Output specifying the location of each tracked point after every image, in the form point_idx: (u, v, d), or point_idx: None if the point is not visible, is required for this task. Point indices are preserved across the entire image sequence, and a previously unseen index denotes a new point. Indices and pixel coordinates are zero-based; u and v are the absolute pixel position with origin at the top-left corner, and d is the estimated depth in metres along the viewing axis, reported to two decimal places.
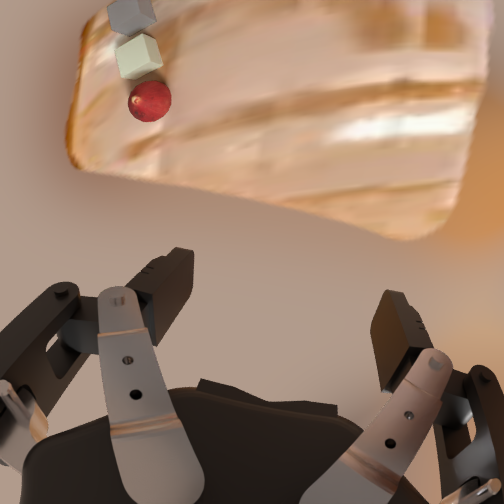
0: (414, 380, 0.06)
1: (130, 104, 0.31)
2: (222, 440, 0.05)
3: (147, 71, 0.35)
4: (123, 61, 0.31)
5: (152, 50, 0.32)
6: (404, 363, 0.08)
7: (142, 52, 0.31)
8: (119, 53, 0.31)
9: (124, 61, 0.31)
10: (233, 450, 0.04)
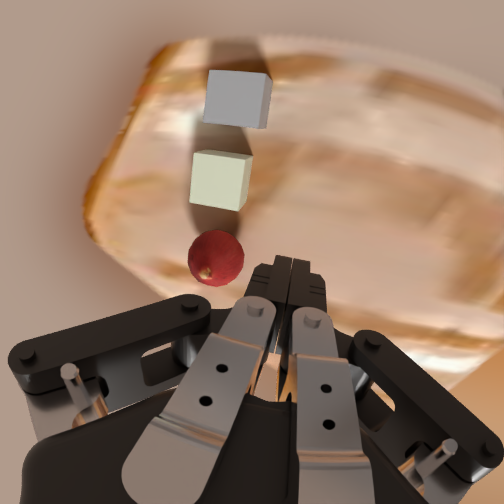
0: (303, 348, 0.07)
1: (194, 269, 0.28)
2: None
3: None
4: (200, 181, 0.28)
5: (244, 185, 0.29)
6: (288, 322, 0.09)
7: (232, 190, 0.27)
8: (199, 164, 0.27)
9: (202, 183, 0.28)
10: (233, 450, 0.04)
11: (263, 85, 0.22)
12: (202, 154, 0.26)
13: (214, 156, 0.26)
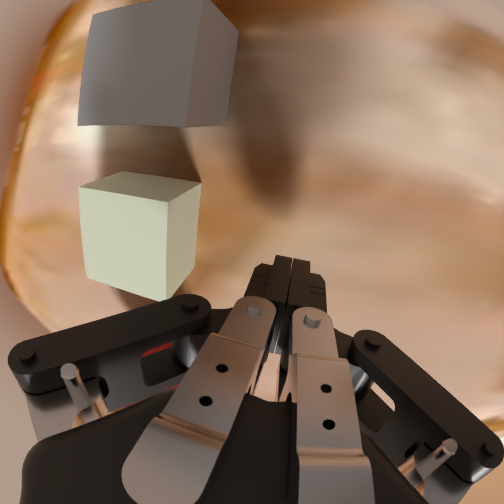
0: (303, 348, 0.07)
1: None
2: None
3: None
4: (95, 242, 0.13)
5: (181, 247, 0.14)
6: (288, 322, 0.09)
7: (150, 263, 0.13)
8: (89, 209, 0.12)
9: (98, 245, 0.13)
10: (233, 450, 0.04)
11: (198, 21, 0.07)
12: (92, 190, 0.12)
13: (110, 194, 0.12)
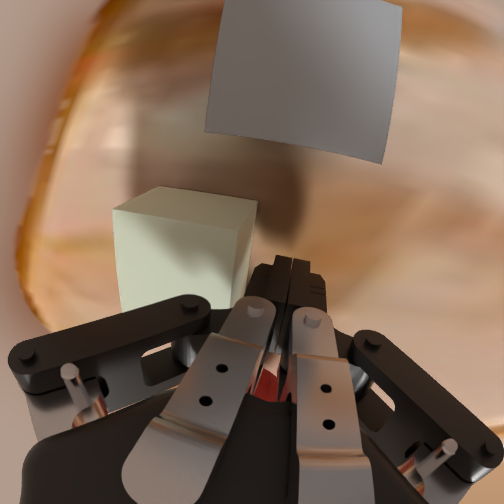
0: (303, 348, 0.07)
1: None
2: None
3: None
4: (136, 275, 0.11)
5: (240, 278, 0.12)
6: (288, 322, 0.09)
7: (209, 300, 0.11)
8: (127, 236, 0.11)
9: (139, 279, 0.11)
10: (233, 450, 0.04)
11: (398, 36, 0.06)
12: (131, 213, 0.10)
13: (158, 219, 0.10)
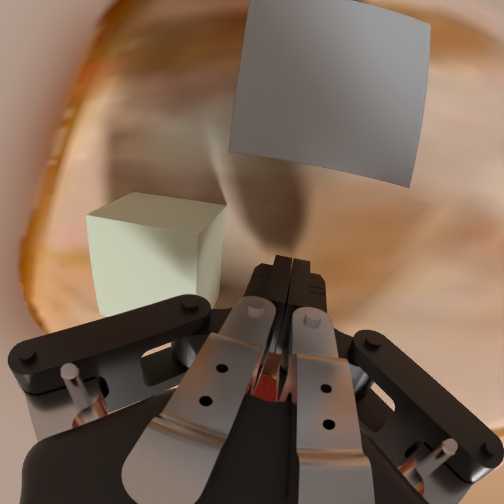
0: (303, 348, 0.07)
1: None
2: None
3: None
4: (109, 278, 0.12)
5: (208, 280, 0.13)
6: (288, 322, 0.09)
7: None
8: (99, 241, 0.11)
9: (113, 281, 0.12)
10: (233, 450, 0.04)
11: (426, 55, 0.05)
12: (102, 218, 0.10)
13: (126, 224, 0.10)
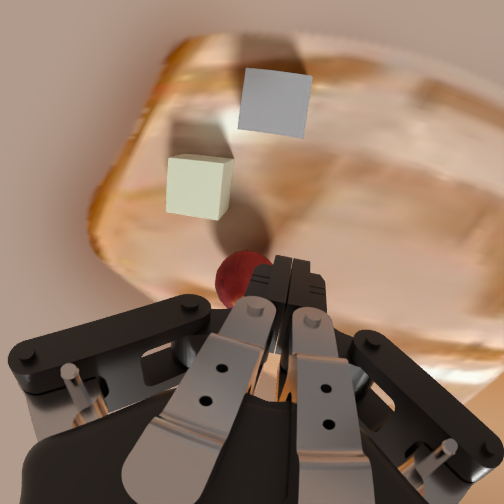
0: (303, 348, 0.07)
1: (225, 296, 0.25)
2: None
3: None
4: (176, 188, 0.25)
5: (225, 191, 0.26)
6: (288, 322, 0.09)
7: (211, 197, 0.25)
8: (174, 170, 0.24)
9: (178, 190, 0.25)
10: (234, 450, 0.04)
11: (309, 89, 0.19)
12: (177, 159, 0.24)
13: (190, 160, 0.24)
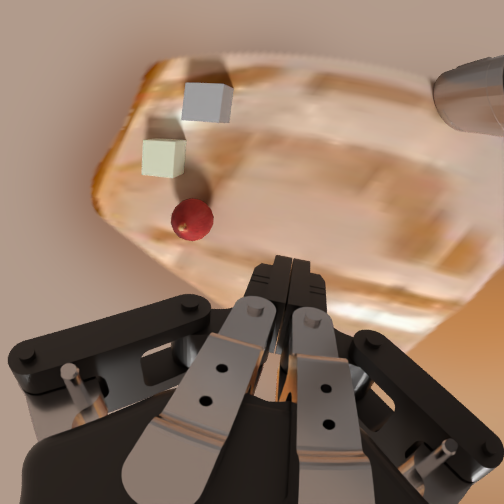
0: (303, 348, 0.07)
1: (175, 225, 0.38)
2: None
3: None
4: (148, 159, 0.38)
5: (178, 160, 0.39)
6: (288, 322, 0.09)
7: (168, 163, 0.37)
8: (146, 147, 0.37)
9: (149, 160, 0.38)
10: (234, 450, 0.04)
11: (222, 92, 0.32)
12: (148, 140, 0.37)
13: (156, 141, 0.36)
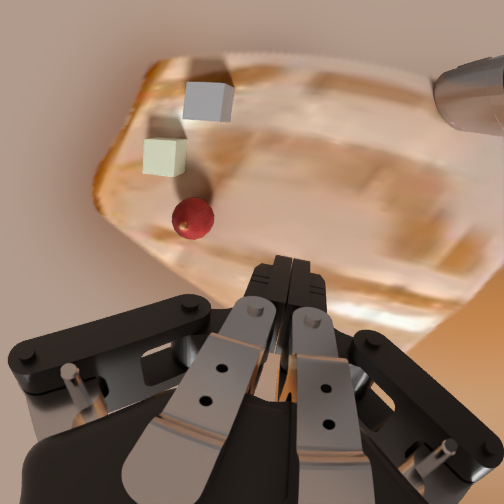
0: (303, 348, 0.07)
1: (176, 224, 0.38)
2: None
3: None
4: (149, 158, 0.38)
5: (179, 159, 0.39)
6: (288, 322, 0.09)
7: (169, 162, 0.38)
8: (147, 146, 0.37)
9: (150, 159, 0.38)
10: (233, 450, 0.04)
11: (223, 91, 0.32)
12: (149, 139, 0.37)
13: (157, 140, 0.37)
